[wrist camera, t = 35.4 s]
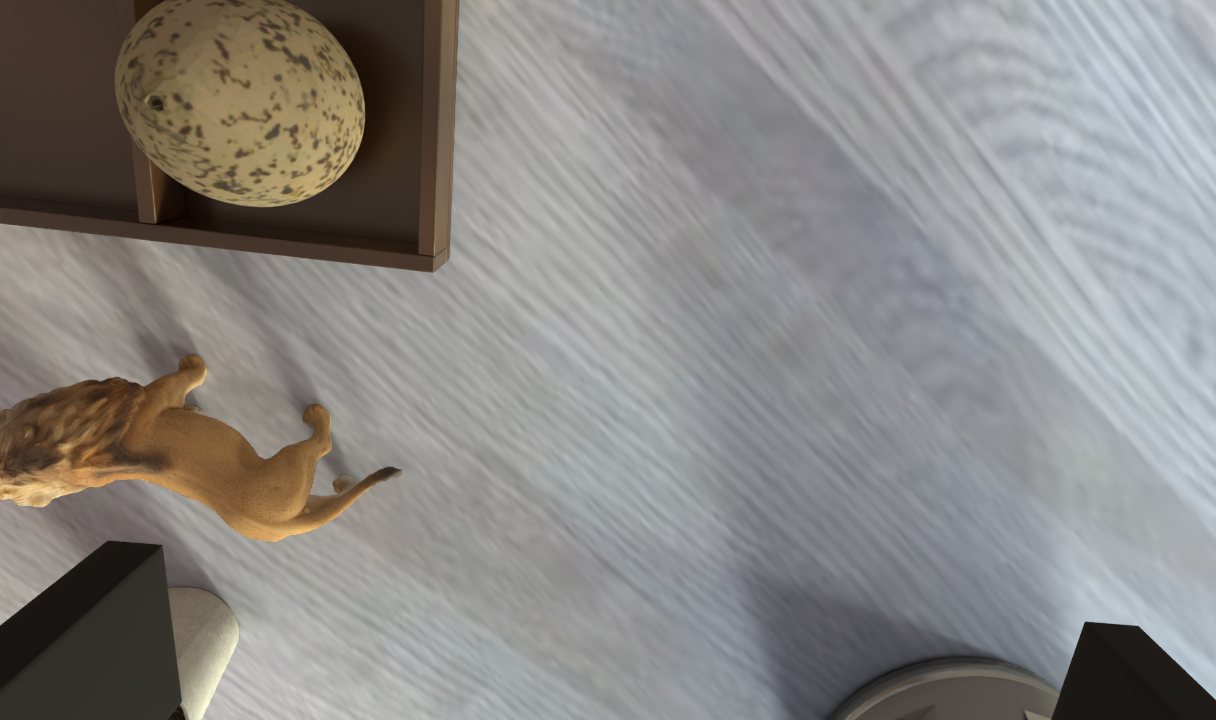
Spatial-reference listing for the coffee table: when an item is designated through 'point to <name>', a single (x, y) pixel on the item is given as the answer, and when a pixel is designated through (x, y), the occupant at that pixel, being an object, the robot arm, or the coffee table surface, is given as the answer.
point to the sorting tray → (170, 212)
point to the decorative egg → (241, 99)
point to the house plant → (200, 646)
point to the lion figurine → (168, 454)
